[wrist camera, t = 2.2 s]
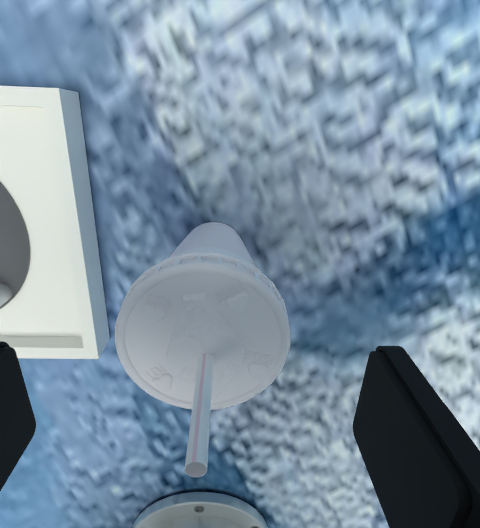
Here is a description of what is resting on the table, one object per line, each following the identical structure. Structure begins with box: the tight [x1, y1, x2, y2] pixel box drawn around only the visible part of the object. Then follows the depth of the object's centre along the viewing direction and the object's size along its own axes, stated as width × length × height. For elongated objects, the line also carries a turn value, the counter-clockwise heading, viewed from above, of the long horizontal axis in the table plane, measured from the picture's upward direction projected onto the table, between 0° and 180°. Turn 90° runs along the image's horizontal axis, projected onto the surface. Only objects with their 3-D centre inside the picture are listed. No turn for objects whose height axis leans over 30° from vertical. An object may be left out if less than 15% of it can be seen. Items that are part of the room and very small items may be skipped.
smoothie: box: [115, 222, 291, 477], centre depth 15 cm, size 6×6×14 cm
